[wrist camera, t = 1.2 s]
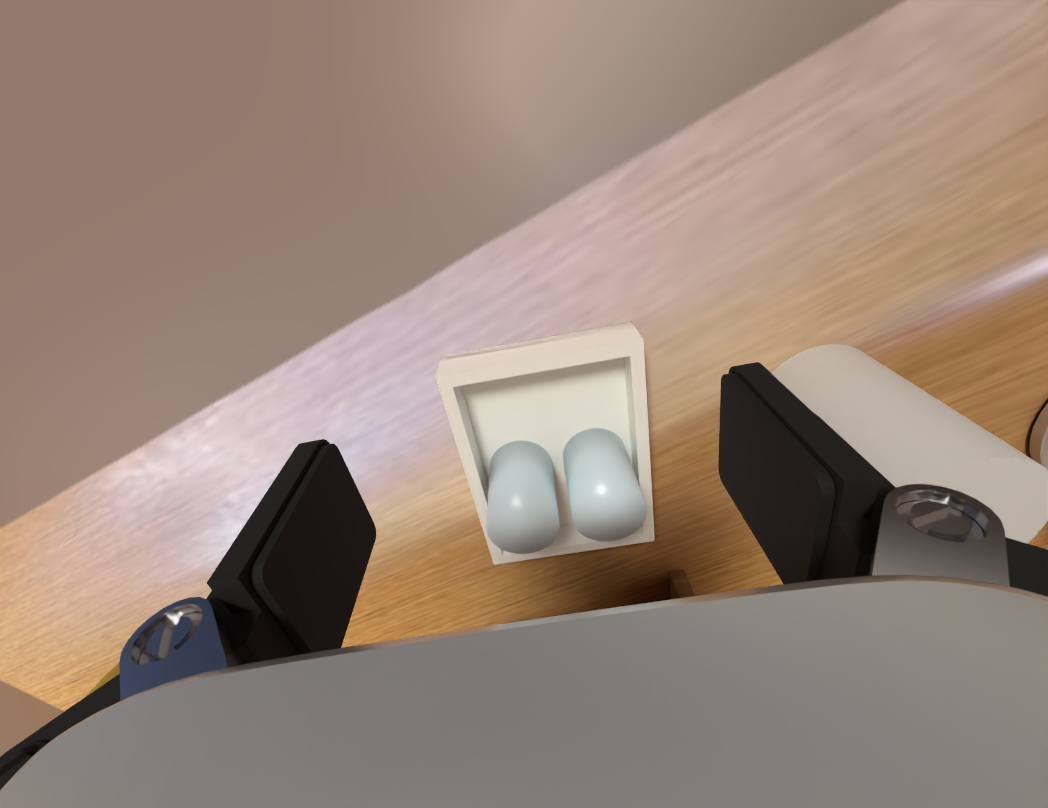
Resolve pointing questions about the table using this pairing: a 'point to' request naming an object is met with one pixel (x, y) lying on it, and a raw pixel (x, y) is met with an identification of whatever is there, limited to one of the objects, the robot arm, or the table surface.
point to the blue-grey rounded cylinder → (522, 499)
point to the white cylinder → (917, 435)
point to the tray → (550, 414)
